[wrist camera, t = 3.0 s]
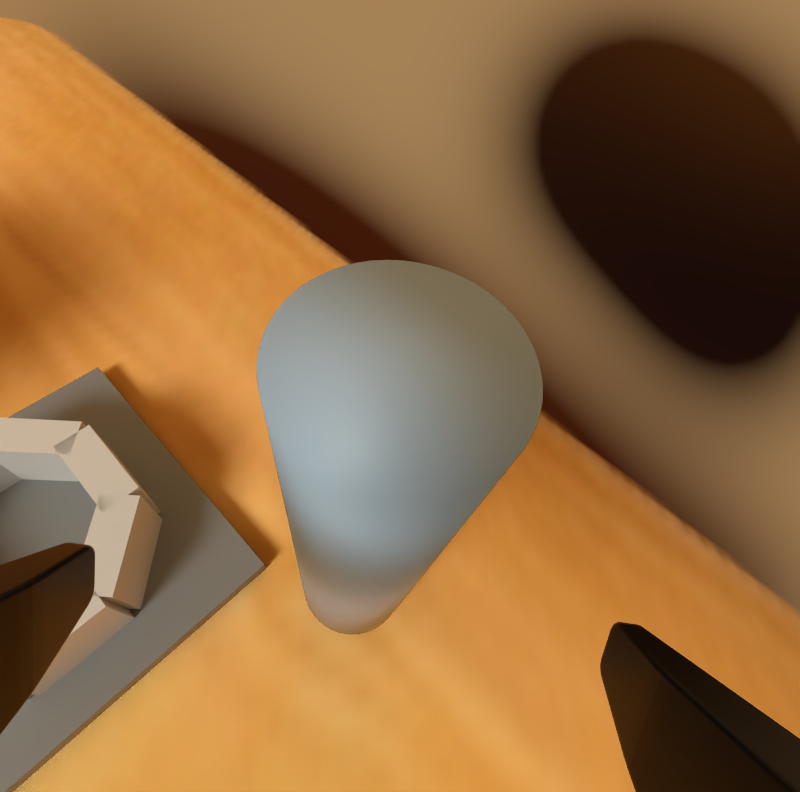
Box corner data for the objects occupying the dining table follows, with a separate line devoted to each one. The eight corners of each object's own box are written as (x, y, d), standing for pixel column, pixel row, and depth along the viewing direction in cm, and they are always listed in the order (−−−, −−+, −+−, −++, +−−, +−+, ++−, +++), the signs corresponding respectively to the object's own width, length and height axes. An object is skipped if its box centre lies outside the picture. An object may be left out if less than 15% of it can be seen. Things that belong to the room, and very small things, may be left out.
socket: (-73, 866, 13) (-174, 910, 10) (-219, 558, 16) (-325, 532, 14) (266, 568, 18) (255, 546, 15) (103, 375, 21) (71, 329, 18)
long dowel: (350, 658, 17) (407, 572, 5) (282, 578, 18) (194, 349, 6) (422, 581, 18) (595, 375, 7) (356, 511, 19) (401, 225, 8)
